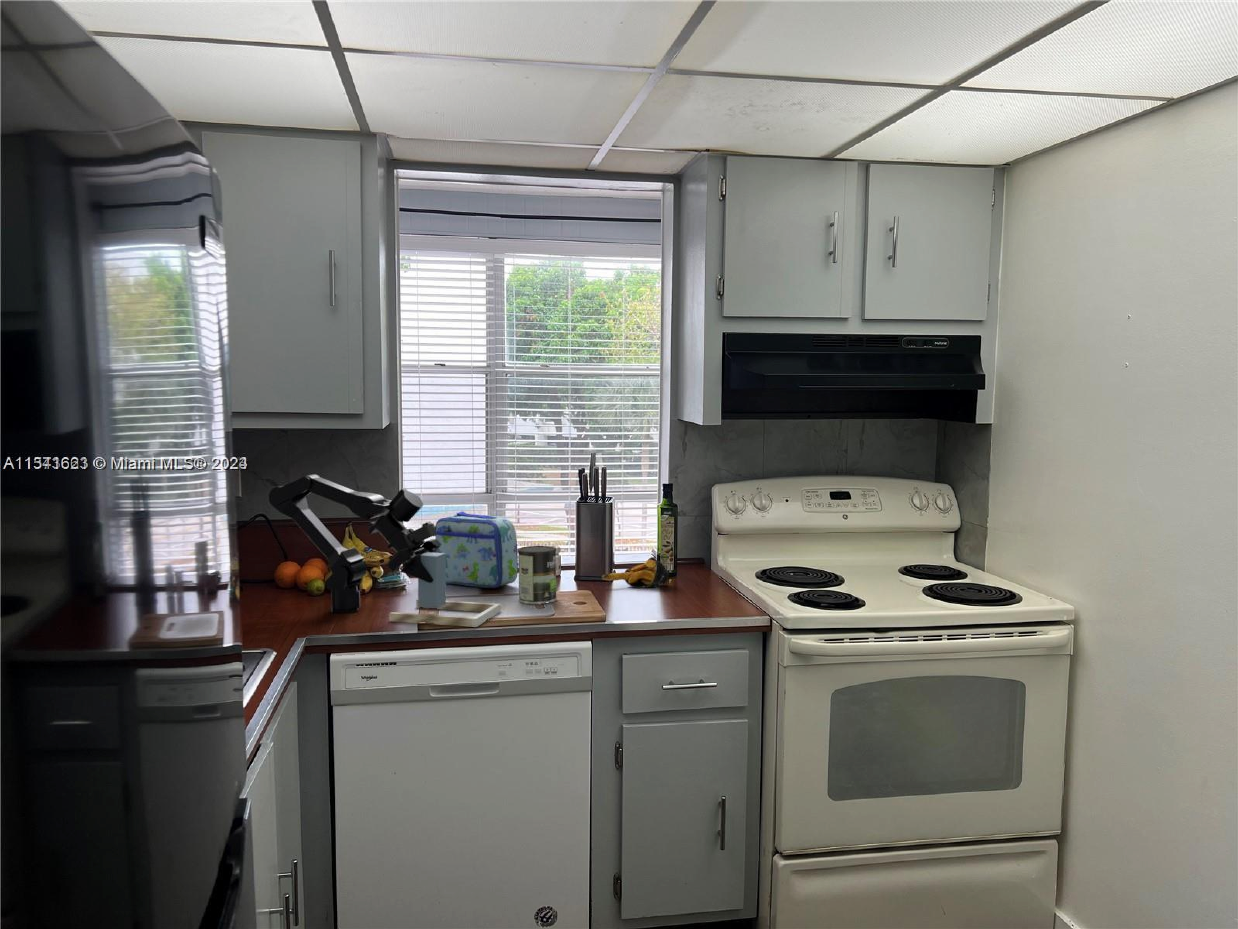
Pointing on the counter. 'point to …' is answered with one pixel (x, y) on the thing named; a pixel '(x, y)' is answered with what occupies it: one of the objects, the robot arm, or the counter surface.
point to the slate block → (435, 591)
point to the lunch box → (478, 550)
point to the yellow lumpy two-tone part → (642, 574)
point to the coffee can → (537, 574)
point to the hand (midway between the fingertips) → (437, 579)
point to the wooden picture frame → (485, 608)
